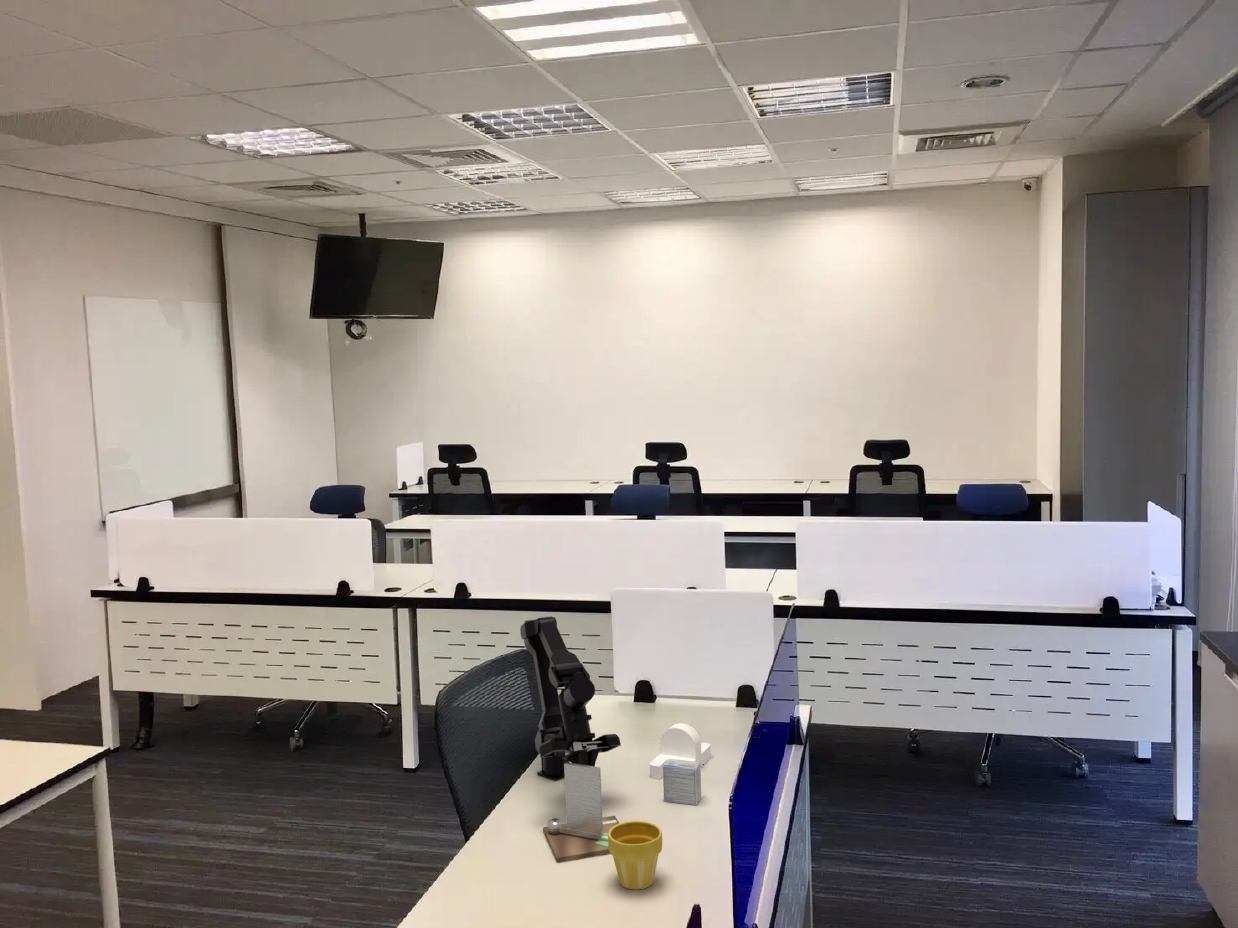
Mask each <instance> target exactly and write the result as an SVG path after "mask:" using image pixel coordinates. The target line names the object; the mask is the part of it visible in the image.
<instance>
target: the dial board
mask: <svg viewBox="0 0 1238 928" xmlns="http://www.w3.org/2000/svg"><path fill="white" fill-rule="evenodd" d="M619 823H620V822H619V820H618V818H617V817H616V815H610V816H605V817H604V816H602V826H603V836H607V837H608V832H609V830H610V829H611V828H612V827H613V826H615V825H617V824H619ZM562 825H563V826H566V823H562ZM542 832H543V834H544V837H545V839H546V841H547V844H548V845H549V847H550V849H551V853H552V854H553V856H554V859H555V861H556V863H558V864H559V863H564V862H569V861H570V862H571V861H575V860H580V859H581V860H582V859H587V858H593V857H598V856H604V855H609V854H610V855H611V853H610V852H609V847H608V840H605V839H601V840H598V839H593V838H587V837H582V836H576V835H571V834H565V833H558V834H551V833H549V832H548V825H546V826H543V827H542Z"/></svg>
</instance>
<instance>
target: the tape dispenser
mask: <svg viewBox="0 0 1238 928" xmlns="http://www.w3.org/2000/svg"><path fill="white" fill-rule="evenodd" d="M711 754H712V753H711V743H709V742H702V741H701V738H700V736H699V734H698V732H697V730H695V729H694V728H693V727H692V726H691V725H689V724H687V723H683V722H681V723H680V722H679V723H675V724H673V725H671V726H670V727H669V728H667V729H666V730H665V731H664V732H663V734H661V737H660V741H659V754H658V755H657V756H656V757H654V759H653V760H652V761H650V762H649V774H650V775H649V778H651V779H653V780H658V781H660V780H662V779H663V765H664V764H665V762H666V761H667V760H668V759H676V760H687V761H695V762H700V768H701V769H702V768H703V766H704V765H706V764H707V762H708V761H709V760H710V759H711V758H710V757H711ZM708 759H709V760H708ZM707 760H708V761H707ZM703 764H704V765H703Z"/></svg>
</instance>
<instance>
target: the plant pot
mask: <svg viewBox="0 0 1238 928" xmlns="http://www.w3.org/2000/svg"><path fill="white" fill-rule="evenodd" d="M608 847H609V852H610V853H611V854H610V855H611V856H612V858H613V862H614V865H615V869H616V874H617V877H618V881H619V884H620V885H621V886H622V887H623V888H625V889H629V890H643V889H646V888H648V887H651V886H652V885H653V884H654V881H655V875H656V870H657V865H658V859H659V854H661V853H662V850H663V831H662V830H661V828H660V826H659V825H656V824H655V823H652V822H649V821H646V820H645V821H643V820H629V821H622V822H619V824H617V825H615V826H613V827H612V828H611V829H610V830H609V832H608Z"/></svg>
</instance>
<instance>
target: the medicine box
mask: <svg viewBox="0 0 1238 928" xmlns="http://www.w3.org/2000/svg"><path fill="white" fill-rule="evenodd" d="M701 769H702V768H701ZM701 769H700V762H695V761H687V760H676V759H668V760H667V761H666V762H665V764H664V765H663V777H662V783H663V785H662V786H663V802H664V803H666V802H667V803H674V804H676V803H677V804H684V805H692V806H693V805H694V806H698V804H699V802H700V801H701V799H702V775H701V774H702V773H701V771H702V770H701Z"/></svg>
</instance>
